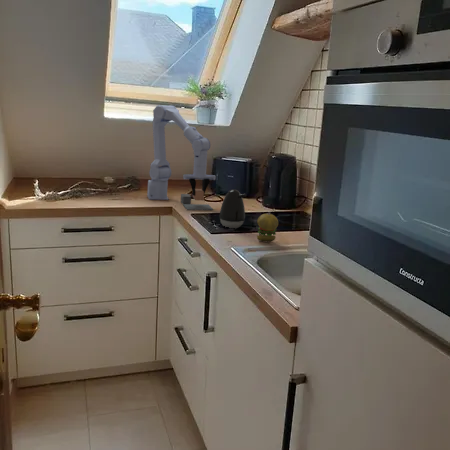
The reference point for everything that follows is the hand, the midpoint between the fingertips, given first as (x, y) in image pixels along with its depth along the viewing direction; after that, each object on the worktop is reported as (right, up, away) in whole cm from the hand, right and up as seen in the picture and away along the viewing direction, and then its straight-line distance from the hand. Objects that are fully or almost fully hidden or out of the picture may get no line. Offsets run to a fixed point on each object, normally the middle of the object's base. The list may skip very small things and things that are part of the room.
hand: (198, 195), depth 220 cm
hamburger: (+27, -20, -44) cm, 56 cm away
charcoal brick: (-6, -3, +8) cm, 11 cm away
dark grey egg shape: (+15, -15, -27) cm, 34 cm away
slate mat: (0, -6, +1) cm, 6 cm away
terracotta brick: (0, -2, 0) cm, 2 cm away
